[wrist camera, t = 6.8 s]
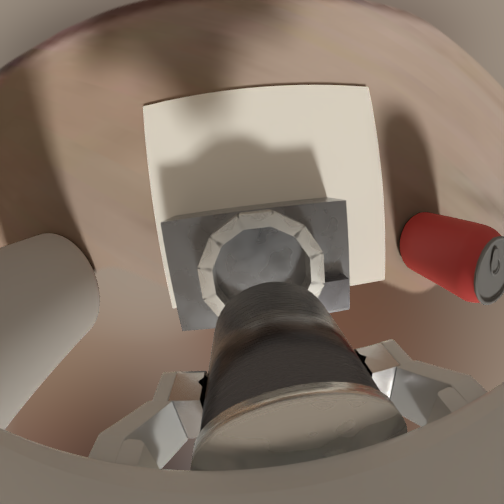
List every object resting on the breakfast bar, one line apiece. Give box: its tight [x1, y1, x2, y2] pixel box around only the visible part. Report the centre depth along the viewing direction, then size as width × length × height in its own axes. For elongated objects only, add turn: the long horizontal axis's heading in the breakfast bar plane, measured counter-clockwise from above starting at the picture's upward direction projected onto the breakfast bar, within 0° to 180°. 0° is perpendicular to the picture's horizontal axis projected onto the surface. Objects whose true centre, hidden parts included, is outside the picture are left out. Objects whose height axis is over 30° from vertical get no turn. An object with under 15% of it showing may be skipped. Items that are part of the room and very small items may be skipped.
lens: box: [191, 282, 407, 471], centre depth 8 cm, size 5×5×7 cm
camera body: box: [161, 197, 350, 331], centre depth 23 cm, size 14×9×7 cm, turn 97°
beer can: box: [400, 212, 504, 305], centre depth 21 cm, size 7×7×12 cm
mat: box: [143, 85, 385, 308], centre depth 25 cm, size 22×20×1 cm
